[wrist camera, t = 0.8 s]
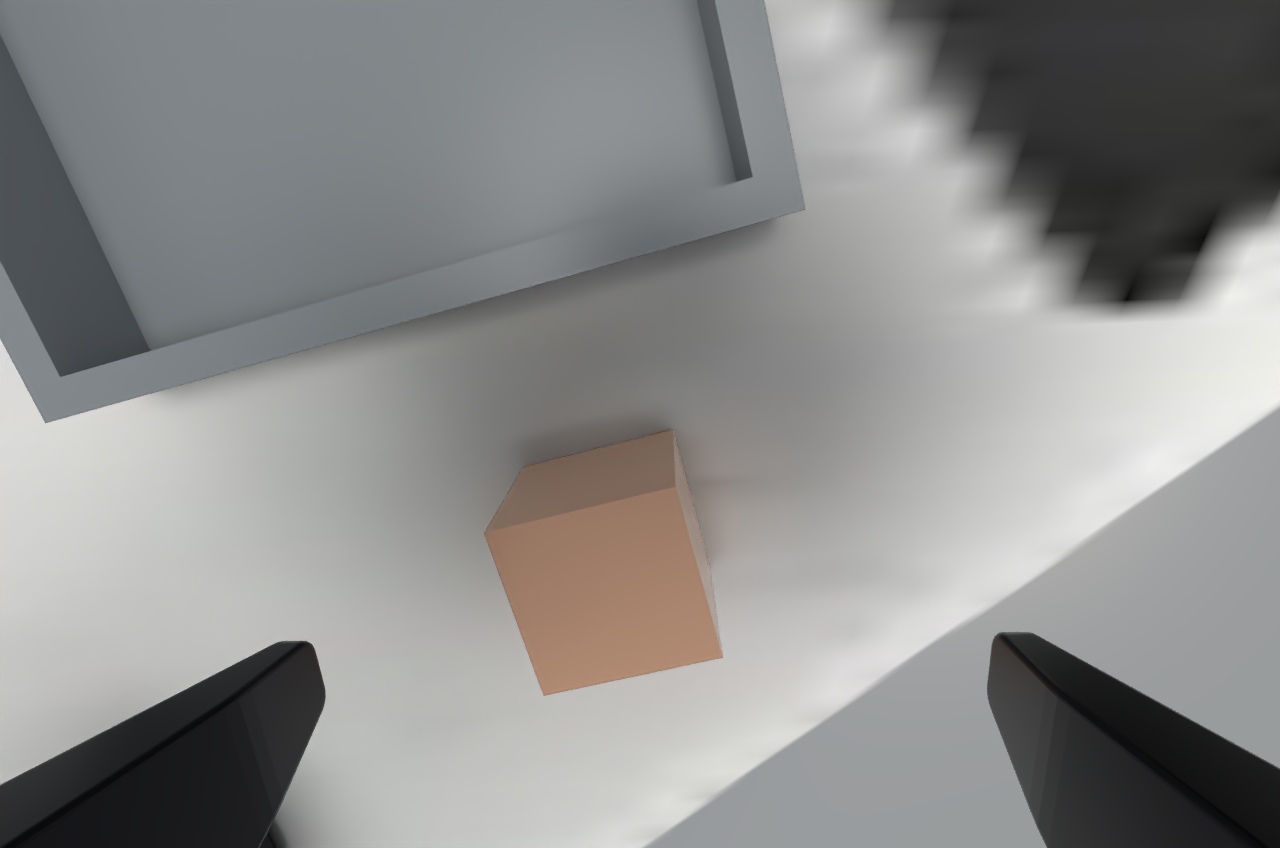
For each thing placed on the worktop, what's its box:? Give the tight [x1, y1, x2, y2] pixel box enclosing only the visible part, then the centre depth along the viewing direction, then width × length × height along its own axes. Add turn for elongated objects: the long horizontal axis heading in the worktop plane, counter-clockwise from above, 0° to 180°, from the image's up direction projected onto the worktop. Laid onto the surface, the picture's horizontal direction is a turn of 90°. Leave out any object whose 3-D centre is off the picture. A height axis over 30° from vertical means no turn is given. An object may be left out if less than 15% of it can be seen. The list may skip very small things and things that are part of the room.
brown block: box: [484, 429, 723, 696], centre depth 20 cm, size 5×5×5 cm
